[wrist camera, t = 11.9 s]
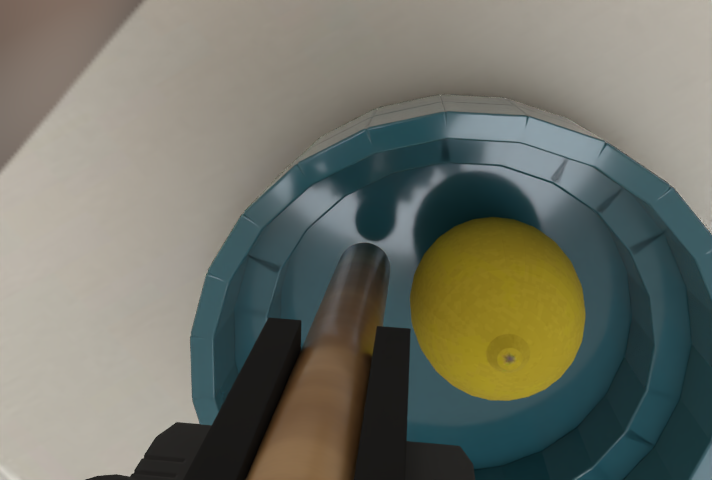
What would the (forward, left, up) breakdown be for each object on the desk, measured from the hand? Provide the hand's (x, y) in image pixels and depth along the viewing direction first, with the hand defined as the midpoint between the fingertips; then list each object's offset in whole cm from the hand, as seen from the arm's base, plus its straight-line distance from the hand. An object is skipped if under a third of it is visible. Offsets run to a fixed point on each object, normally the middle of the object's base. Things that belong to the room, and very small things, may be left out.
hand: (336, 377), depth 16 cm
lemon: (+1, +4, -11) cm, 12 cm away
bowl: (+3, +3, -12) cm, 13 cm away
